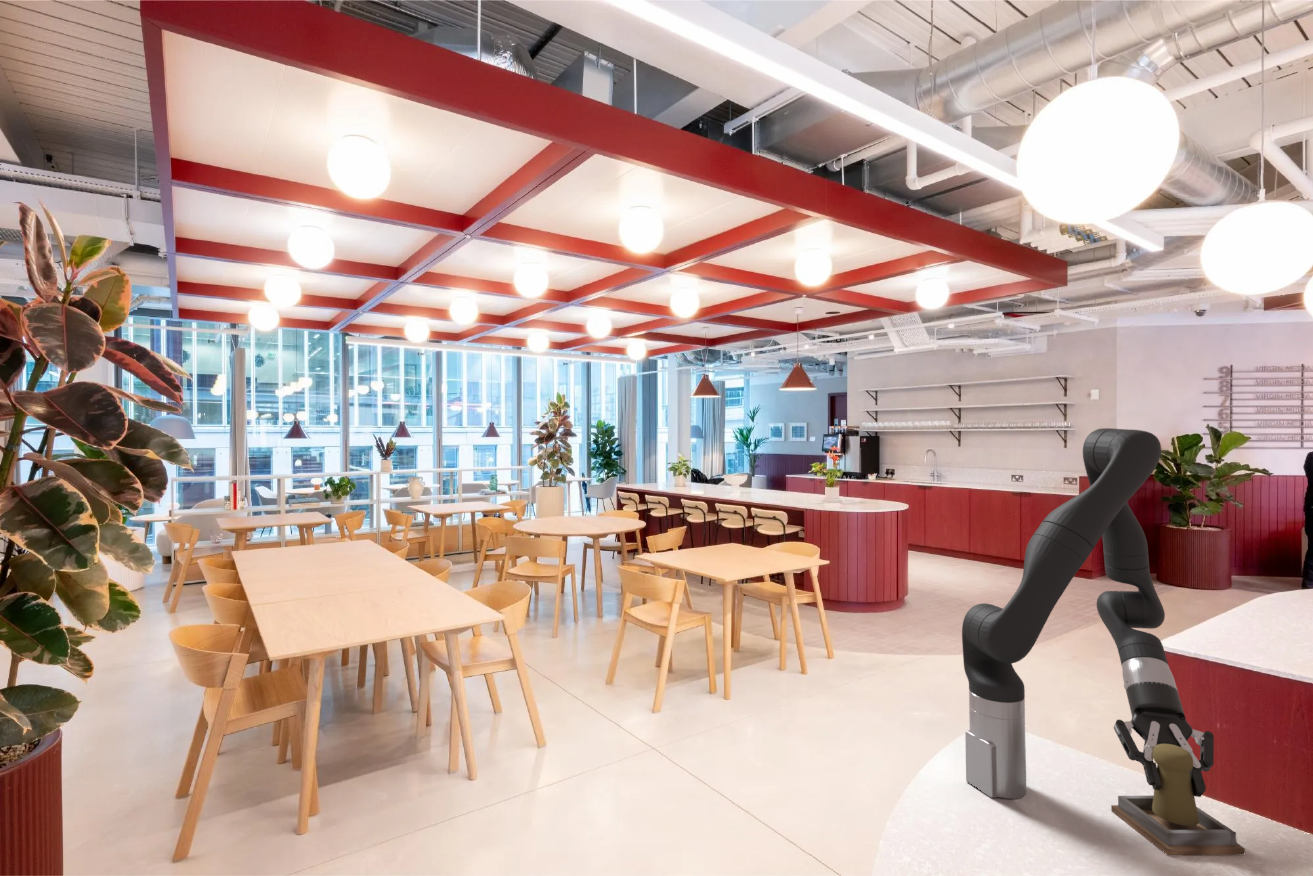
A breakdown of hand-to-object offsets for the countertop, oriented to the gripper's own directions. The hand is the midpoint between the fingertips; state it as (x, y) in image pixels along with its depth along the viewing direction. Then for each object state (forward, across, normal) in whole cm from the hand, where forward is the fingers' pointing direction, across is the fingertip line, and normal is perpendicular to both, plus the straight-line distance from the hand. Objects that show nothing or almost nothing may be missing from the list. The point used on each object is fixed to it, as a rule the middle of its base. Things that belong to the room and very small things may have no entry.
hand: (1177, 791), depth 102 cm
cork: (+2, 0, +5) cm, 5 cm away
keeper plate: (+4, 0, +6) cm, 8 cm away
